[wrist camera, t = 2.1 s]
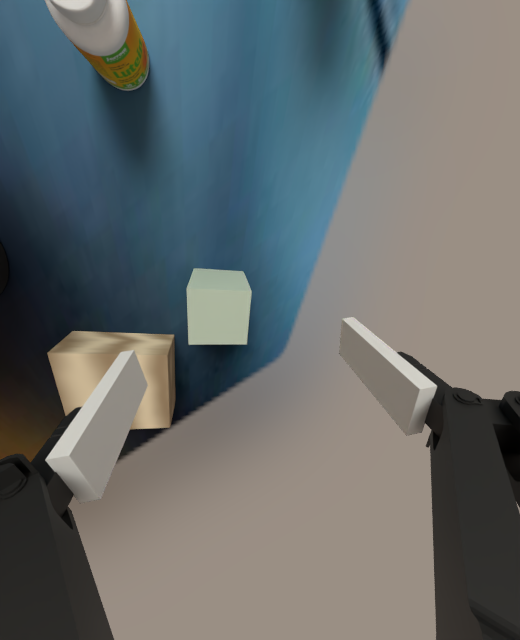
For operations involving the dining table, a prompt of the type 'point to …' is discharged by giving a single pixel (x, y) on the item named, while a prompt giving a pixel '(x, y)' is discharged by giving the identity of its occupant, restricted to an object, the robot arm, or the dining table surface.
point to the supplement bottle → (105, 38)
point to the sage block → (218, 307)
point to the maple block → (97, 357)
